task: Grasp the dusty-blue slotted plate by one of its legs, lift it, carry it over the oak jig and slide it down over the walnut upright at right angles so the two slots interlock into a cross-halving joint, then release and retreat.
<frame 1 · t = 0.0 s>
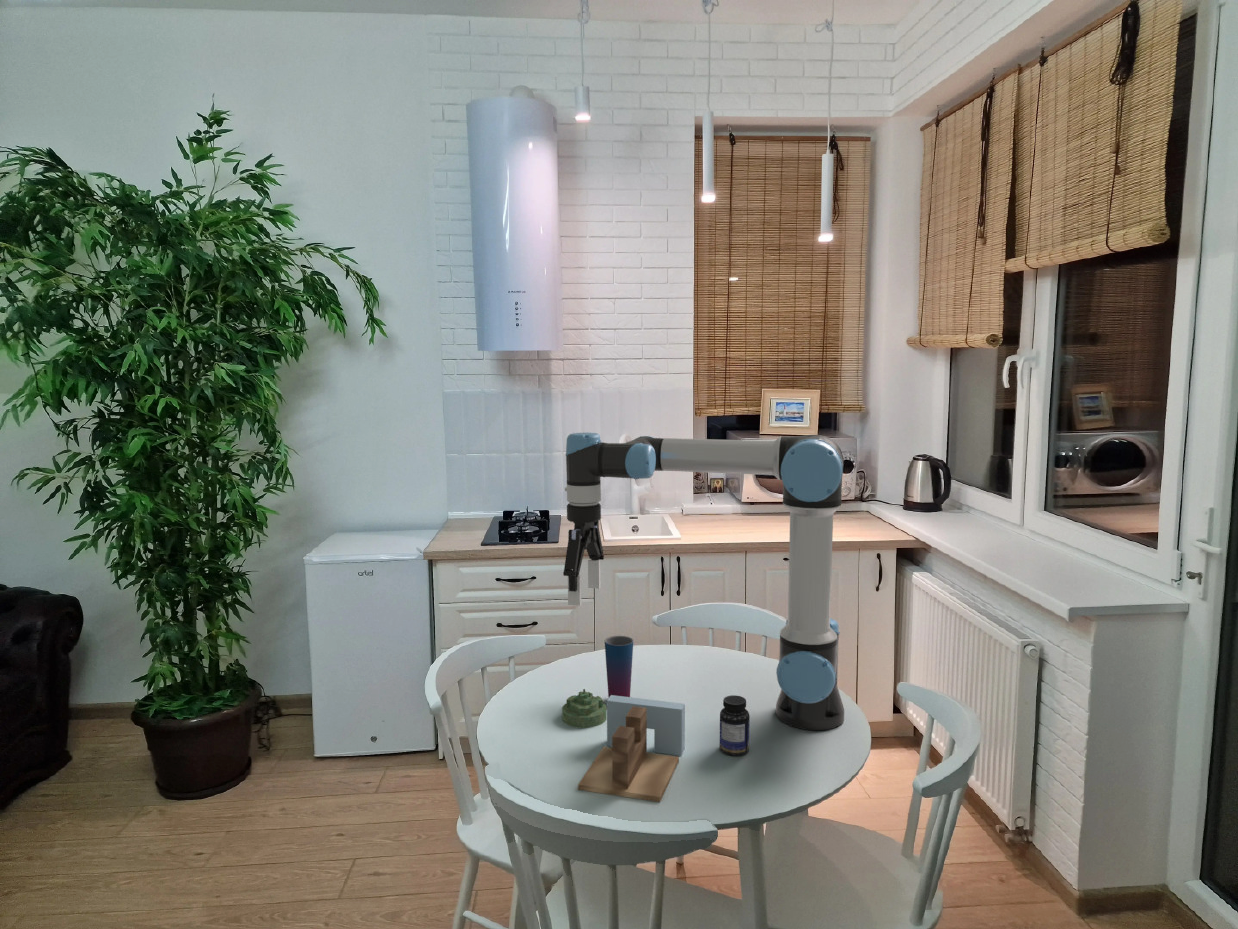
hand: (584, 596, 187), 28 cm above the table, fingers open, 13 cm apart
pill bottle: (734, 751, 174), on the table
jig: (630, 775, 164), on the table
cup: (619, 702, 198), on the table
slotted plate: (645, 747, 175), on the table
decorative artifact: (584, 719, 189), on the table
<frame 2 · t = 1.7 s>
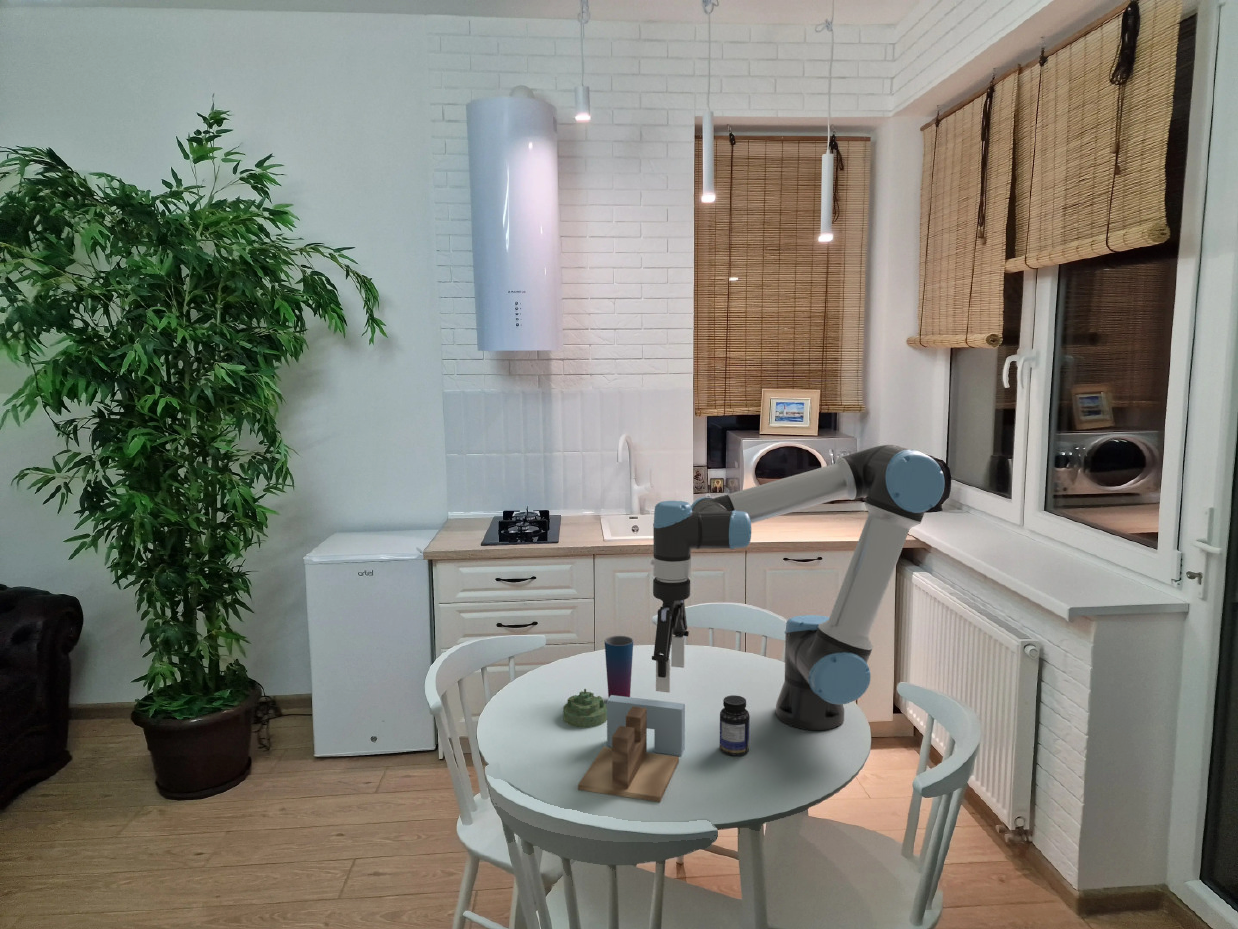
hand: (670, 678, 171), 16 cm above the table, fingers open, 13 cm apart
nothing on the table moved.
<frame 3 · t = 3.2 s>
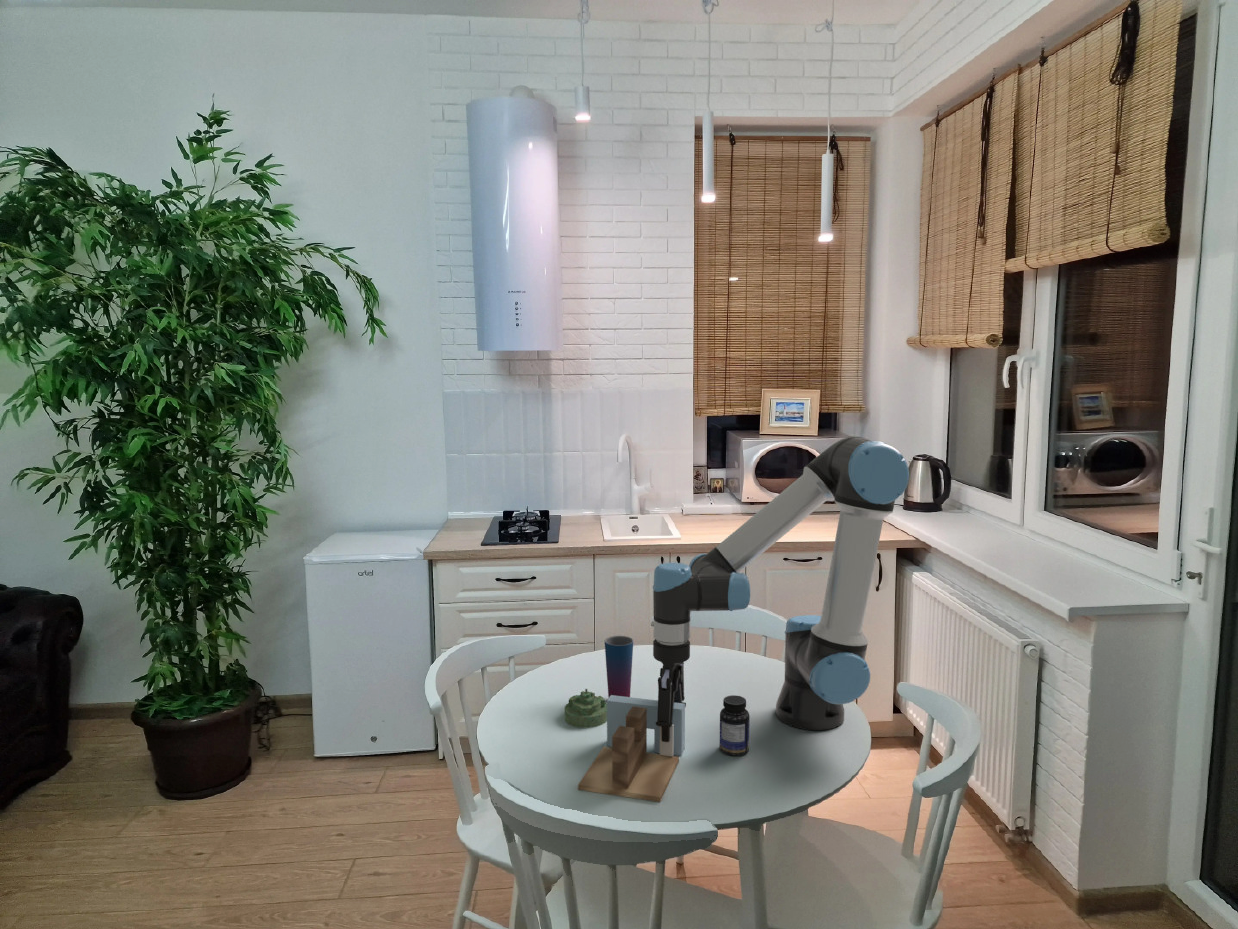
hand: (670, 746, 173), 1 cm above the table, fingers open, 7 cm apart
nothing on the table moved.
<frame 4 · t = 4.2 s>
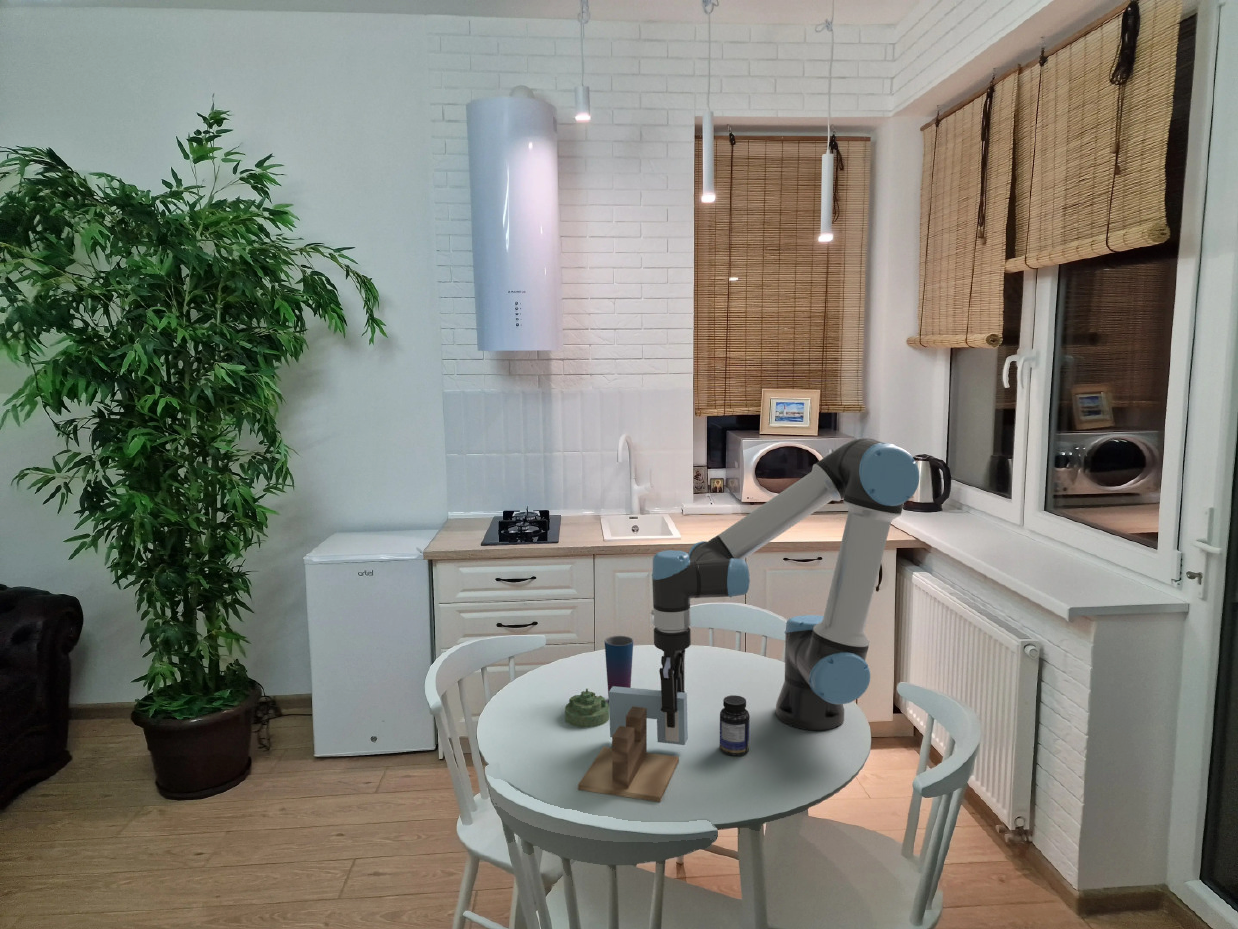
hand: (674, 736, 173), 3 cm above the table, fingers closed on slotted plate, 3 cm apart
slotted plate: (648, 737, 175), point 2 cm above the table, touching gripper
everything else where it was.
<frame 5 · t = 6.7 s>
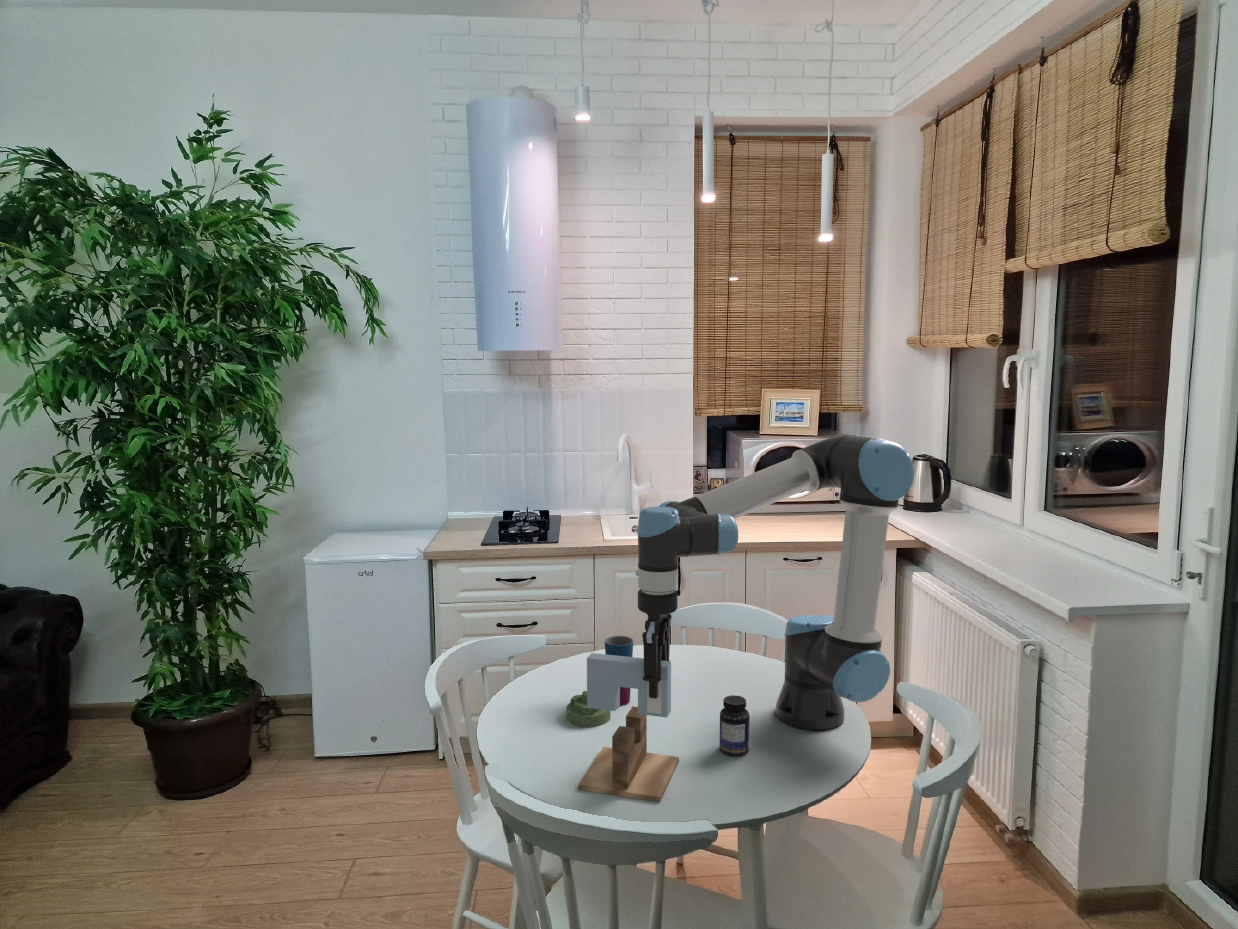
hand: (656, 708, 160), 14 cm above the table, fingers closed on slotted plate, 3 cm apart
slotted plate: (628, 709, 162), point 14 cm above the table, touching gripper
everything else where it was.
when the fingers open (3 cm above the table, at t = 9.4 s): slotted plate drops 1 cm, resting on jig.
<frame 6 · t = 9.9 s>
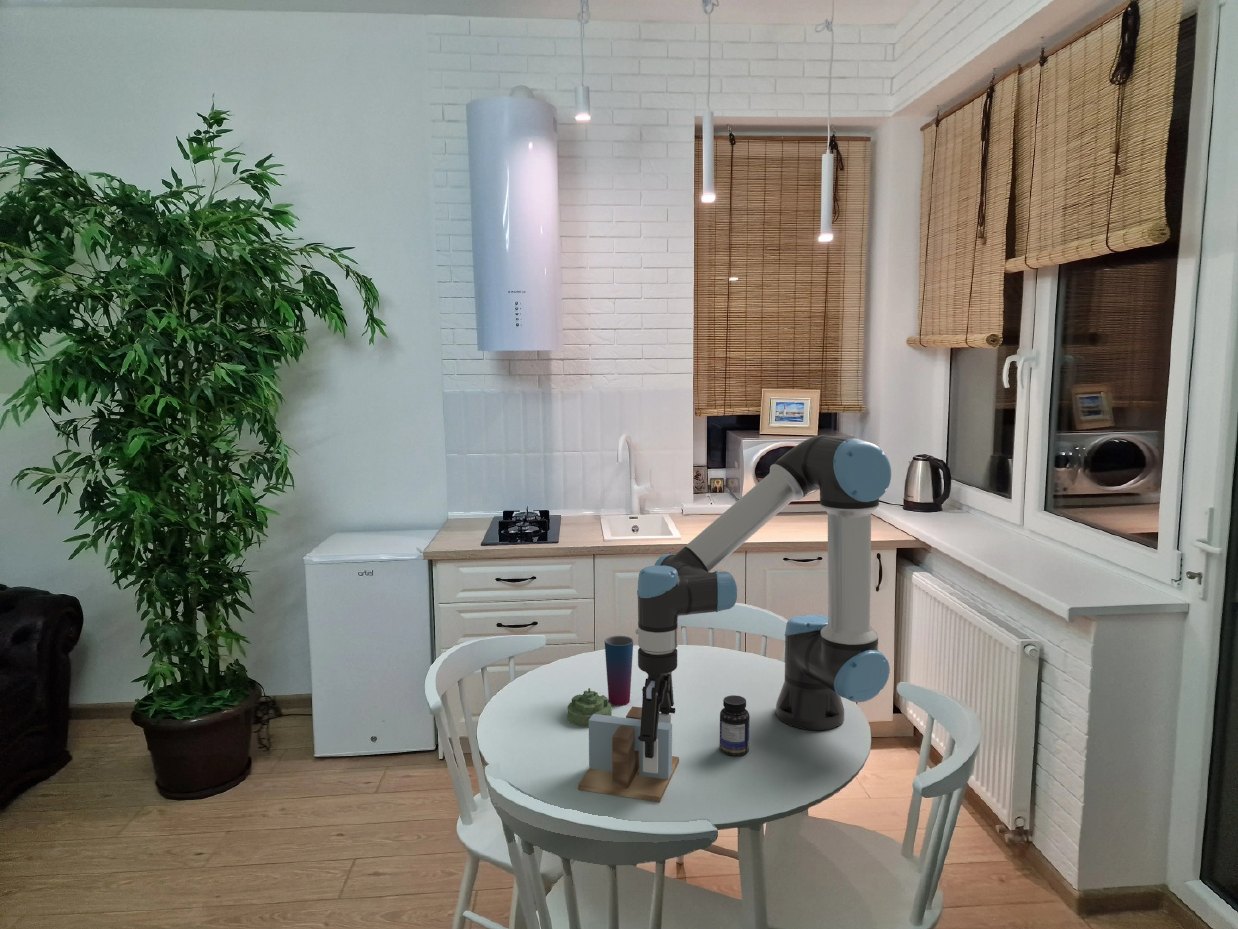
hand: (657, 758, 162), 4 cm above the table, fingers open, 10 cm apart
slotted plate: (630, 770, 164), point 1 cm above the table, touching jig
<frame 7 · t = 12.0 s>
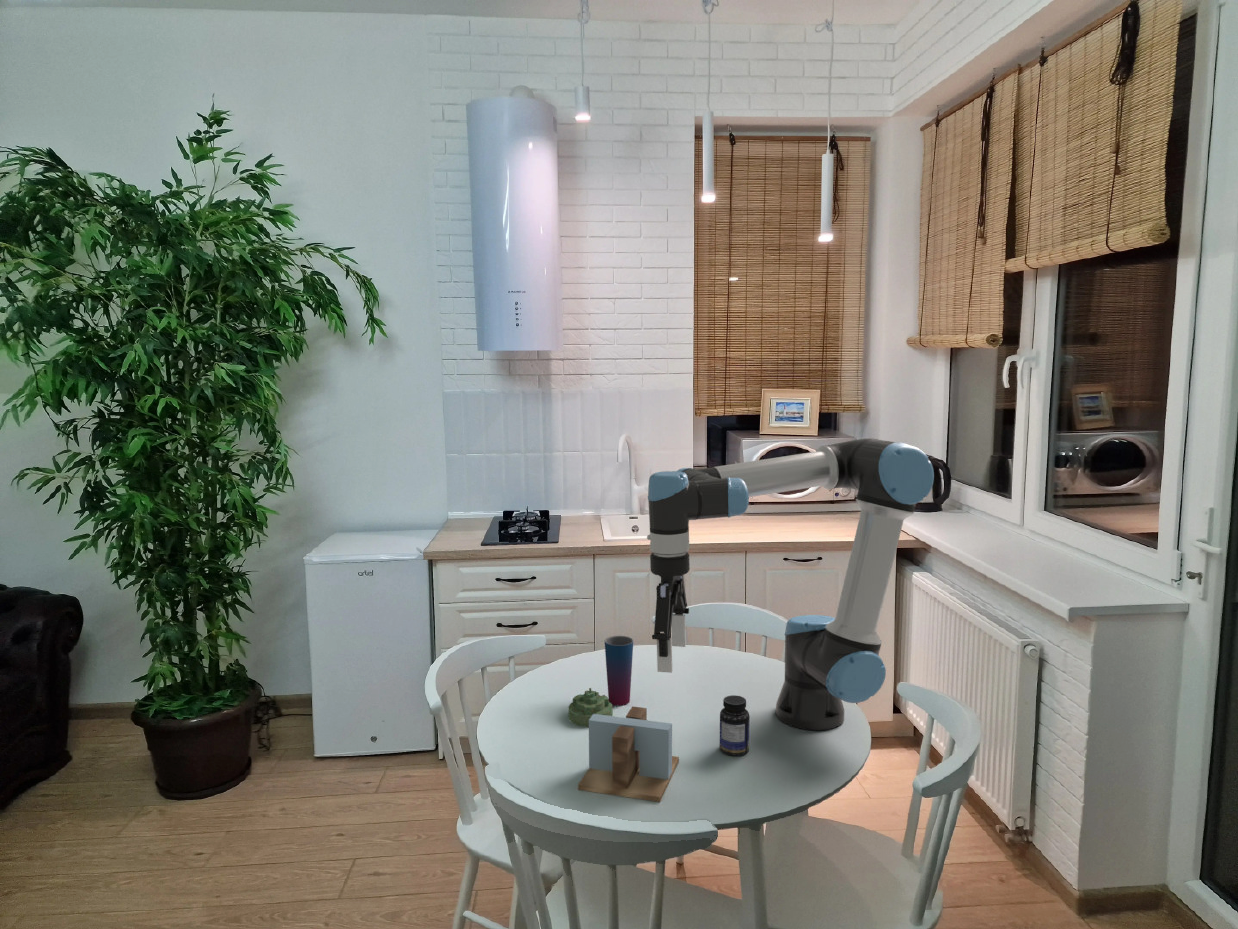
hand: (672, 658, 163), 23 cm above the table, fingers open, 13 cm apart
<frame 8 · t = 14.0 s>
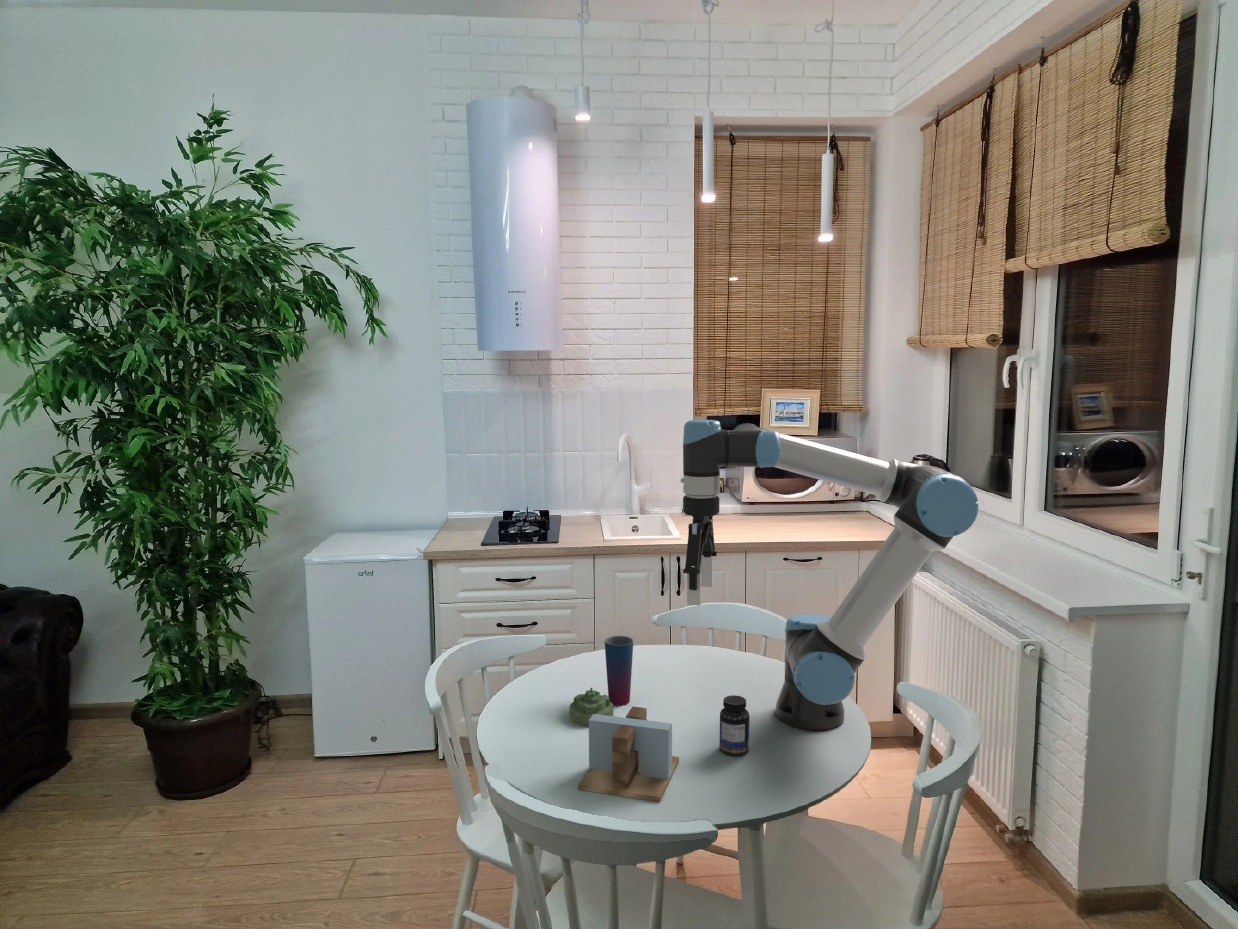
hand: (700, 595, 175), 32 cm above the table, fingers open, 13 cm apart
at the end: slotted plate 0.0 cm off-centre on the jig, point 1.0 cm above the jig's base; slotted plate tilted 0°; the gripper is holding nothing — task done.
